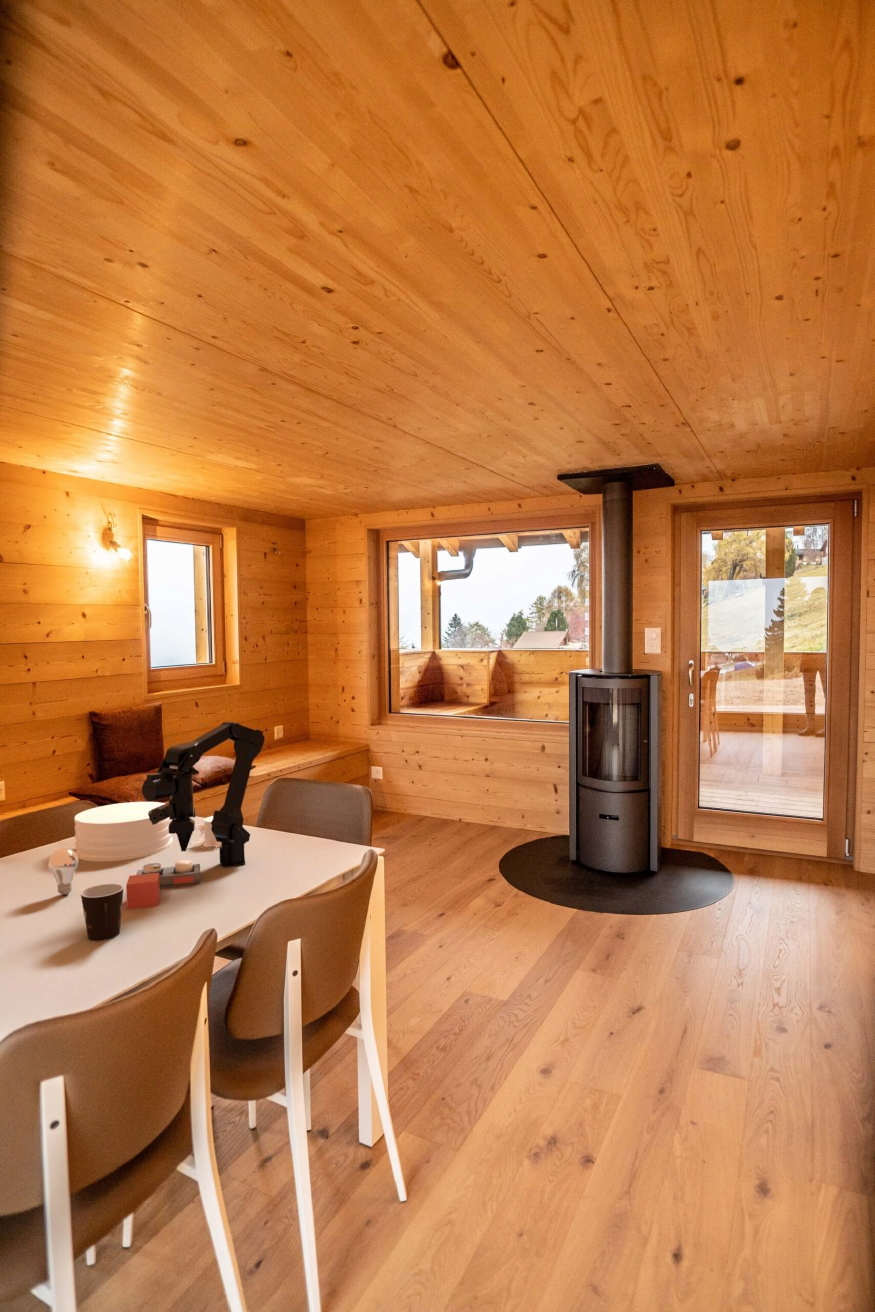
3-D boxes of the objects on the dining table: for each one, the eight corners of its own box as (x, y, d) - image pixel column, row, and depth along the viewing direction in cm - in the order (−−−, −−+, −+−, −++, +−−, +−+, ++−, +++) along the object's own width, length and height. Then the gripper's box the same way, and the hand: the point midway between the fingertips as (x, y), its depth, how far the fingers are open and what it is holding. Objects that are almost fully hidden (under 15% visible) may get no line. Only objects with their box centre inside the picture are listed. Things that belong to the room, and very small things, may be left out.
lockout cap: (160, 895, 186) (159, 872, 186) (158, 905, 179) (157, 881, 179) (130, 899, 184) (129, 875, 184) (127, 909, 177) (126, 884, 177)
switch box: (200, 874, 202) (199, 863, 202) (199, 884, 194) (199, 873, 194) (137, 881, 197) (137, 870, 197) (134, 891, 189) (134, 880, 189)
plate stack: (140, 831, 250) (139, 798, 249) (190, 844, 233) (189, 808, 233) (58, 852, 227) (56, 815, 227) (107, 867, 211) (106, 828, 210)
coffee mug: (91, 928, 166) (89, 884, 165) (130, 926, 166) (129, 882, 166) (70, 950, 154) (68, 903, 154) (112, 948, 155) (110, 901, 154)
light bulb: (67, 900, 184) (65, 853, 183) (43, 899, 185) (41, 852, 185) (86, 891, 191) (84, 845, 190) (62, 889, 192) (60, 844, 192)
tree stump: (182, 840, 239) (182, 815, 238) (243, 832, 246) (242, 808, 246) (188, 856, 220) (187, 830, 220) (253, 847, 228) (253, 822, 228)
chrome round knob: (161, 870, 197) (161, 862, 197) (160, 875, 193) (160, 867, 193) (144, 872, 196) (143, 864, 196) (142, 877, 192) (142, 869, 192)
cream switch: (192, 867, 200) (192, 859, 200) (192, 872, 195) (192, 864, 195) (175, 869, 198) (175, 861, 198) (174, 874, 194) (174, 865, 194)
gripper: (152, 789, 203) (154, 844, 203) (146, 803, 185) (148, 864, 185) (194, 785, 206) (196, 840, 207) (192, 799, 188) (195, 859, 189)
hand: (183, 851), depth 197 cm, fingers closed
